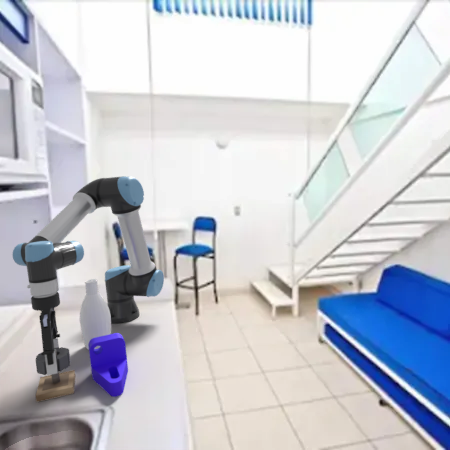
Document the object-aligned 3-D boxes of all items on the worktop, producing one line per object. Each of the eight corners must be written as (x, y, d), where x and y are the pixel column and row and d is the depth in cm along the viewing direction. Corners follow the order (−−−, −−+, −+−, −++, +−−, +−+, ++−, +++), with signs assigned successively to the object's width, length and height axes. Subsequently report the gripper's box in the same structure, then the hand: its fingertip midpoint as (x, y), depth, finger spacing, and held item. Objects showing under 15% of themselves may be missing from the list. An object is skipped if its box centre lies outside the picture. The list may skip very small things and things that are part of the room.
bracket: (91, 373, 122) (87, 339, 120) (125, 364, 126) (122, 331, 125) (97, 402, 106) (93, 362, 104) (136, 390, 110) (132, 352, 109)
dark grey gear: (70, 357, 119) (69, 345, 118) (69, 370, 110) (67, 357, 110) (39, 363, 116) (38, 351, 115) (35, 377, 108) (34, 364, 107)
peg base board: (41, 383, 118) (36, 346, 116) (75, 375, 121) (71, 340, 119) (36, 402, 107) (31, 362, 106) (73, 393, 111) (69, 354, 109)
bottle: (93, 338, 149) (86, 276, 146) (118, 339, 147) (112, 276, 144) (76, 351, 138) (68, 285, 135) (104, 352, 136) (96, 285, 133)
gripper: (35, 286, 119) (44, 353, 122) (24, 307, 99) (35, 387, 102) (61, 283, 122) (69, 349, 125) (55, 302, 101) (65, 380, 104)
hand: (54, 366), depth 113 cm, fingers closed on dark grey gear, 9 cm apart
